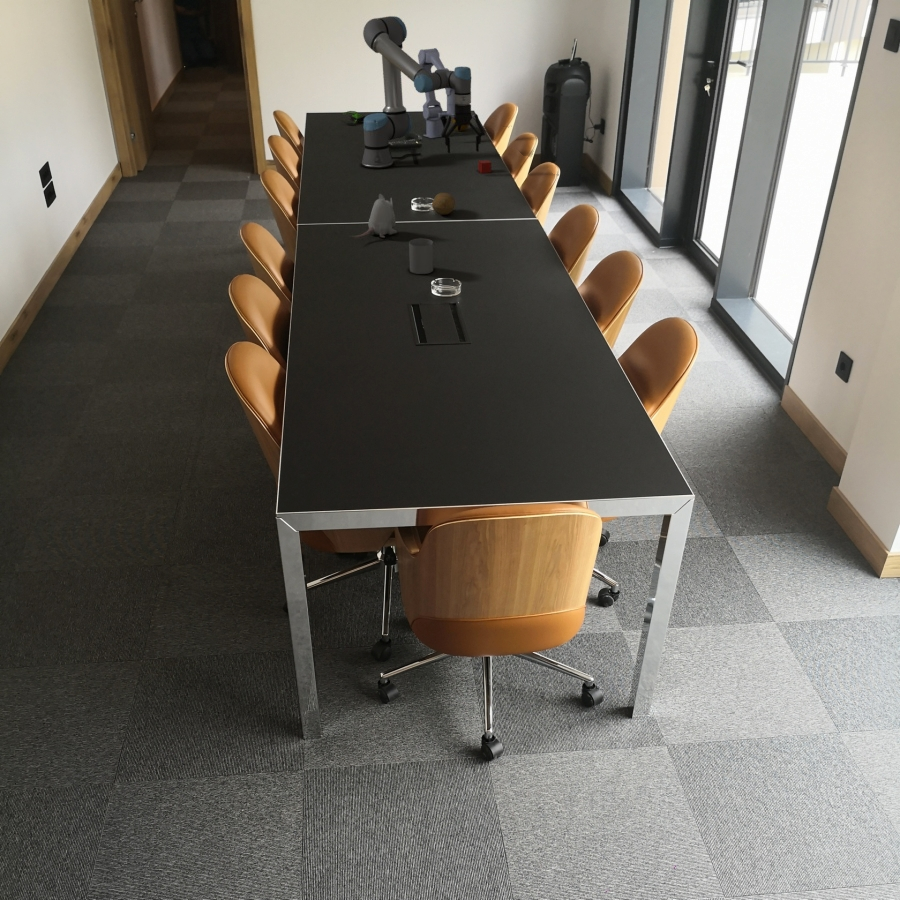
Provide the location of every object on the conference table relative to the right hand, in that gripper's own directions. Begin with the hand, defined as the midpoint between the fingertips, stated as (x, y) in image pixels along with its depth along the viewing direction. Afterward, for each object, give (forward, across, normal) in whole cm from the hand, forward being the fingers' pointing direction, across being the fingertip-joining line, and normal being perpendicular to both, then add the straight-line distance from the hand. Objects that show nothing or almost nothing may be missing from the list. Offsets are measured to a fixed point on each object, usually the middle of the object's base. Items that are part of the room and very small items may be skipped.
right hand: (452, 130), depth 463 cm
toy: (+6, -75, -137) cm, 157 cm away
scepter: (+6, -33, +61) cm, 69 cm away
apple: (+6, +14, +26) cm, 30 cm away
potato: (+6, -40, -116) cm, 123 cm away
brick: (+6, -2, -59) cm, 59 cm away
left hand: (-4, -14, -62) cm, 63 cm away
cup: (+6, -66, -176) cm, 188 cm away
